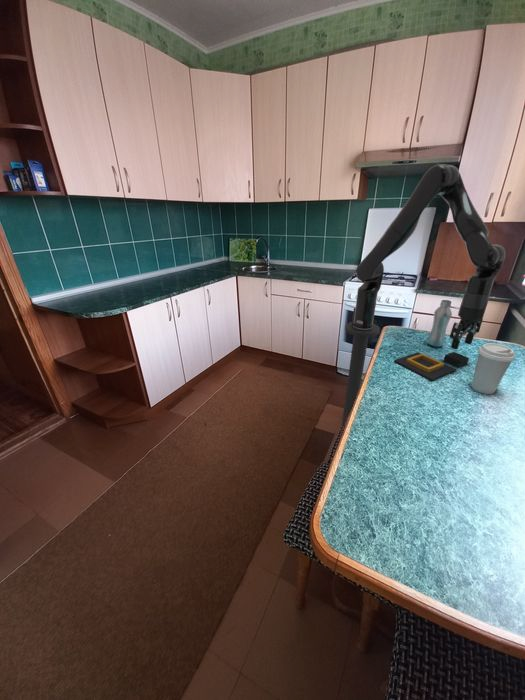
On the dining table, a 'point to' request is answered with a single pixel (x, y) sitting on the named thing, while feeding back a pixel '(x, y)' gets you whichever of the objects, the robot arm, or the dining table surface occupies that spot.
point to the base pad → (425, 366)
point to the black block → (456, 359)
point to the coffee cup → (491, 367)
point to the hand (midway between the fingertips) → (460, 345)
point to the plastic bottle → (440, 324)
